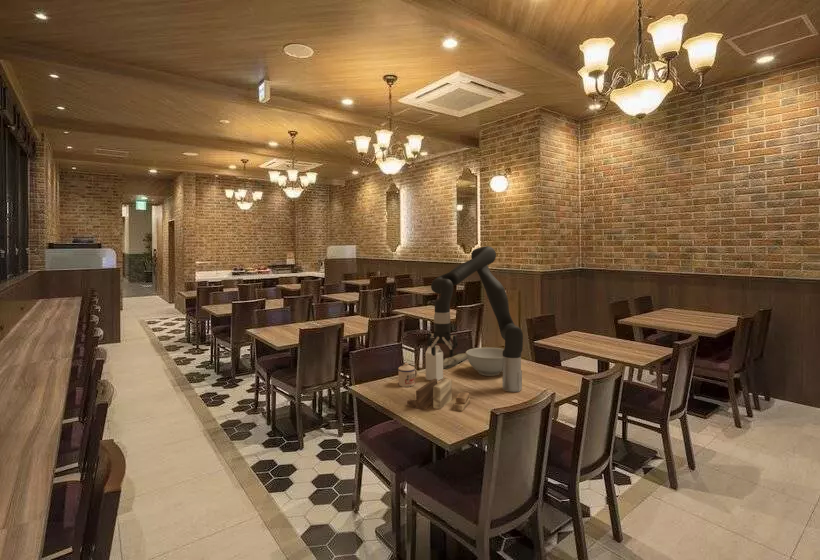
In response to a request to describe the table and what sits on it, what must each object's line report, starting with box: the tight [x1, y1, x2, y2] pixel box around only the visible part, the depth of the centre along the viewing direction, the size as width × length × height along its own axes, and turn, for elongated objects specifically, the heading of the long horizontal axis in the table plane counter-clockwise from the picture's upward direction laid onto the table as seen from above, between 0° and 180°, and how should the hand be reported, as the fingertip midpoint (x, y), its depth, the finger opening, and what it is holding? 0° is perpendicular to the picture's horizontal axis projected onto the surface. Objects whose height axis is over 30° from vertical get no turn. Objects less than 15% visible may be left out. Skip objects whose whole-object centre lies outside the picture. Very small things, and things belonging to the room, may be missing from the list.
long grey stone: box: [443, 352, 468, 369], centre depth 278 cm, size 35×5×10 cm
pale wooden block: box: [432, 378, 453, 410], centre depth 204 cm, size 4×14×10 cm, turn 153°
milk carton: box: [424, 345, 444, 382], centre depth 243 cm, size 7×7×19 cm
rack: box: [406, 379, 438, 411], centre depth 208 cm, size 9×21×8 cm, turn 153°
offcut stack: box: [453, 391, 471, 412], centre depth 200 cm, size 5×11×5 cm, turn 153°
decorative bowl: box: [465, 346, 505, 377], centre depth 253 cm, size 27×27×12 cm
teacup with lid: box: [397, 362, 418, 388], centre depth 234 cm, size 12×9×12 cm
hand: (442, 356), depth 203 cm, fingers open, 8 cm apart
